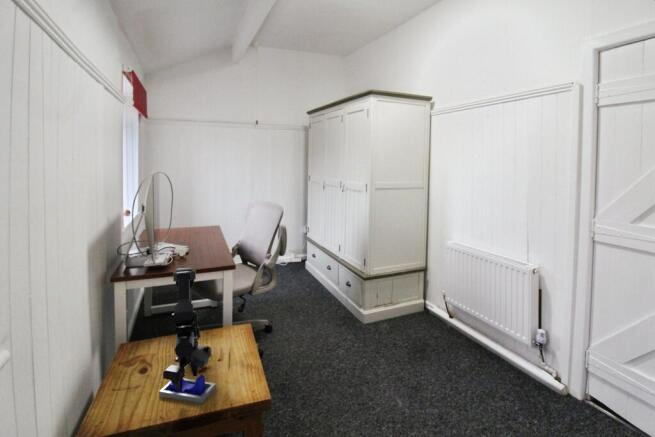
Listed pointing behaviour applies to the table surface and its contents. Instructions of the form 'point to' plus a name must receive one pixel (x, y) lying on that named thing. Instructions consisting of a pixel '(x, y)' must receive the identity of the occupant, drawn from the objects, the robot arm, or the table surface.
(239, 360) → the table surface
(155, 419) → the table surface
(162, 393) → the tray
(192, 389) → the blue curved cradle
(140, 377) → the table surface
